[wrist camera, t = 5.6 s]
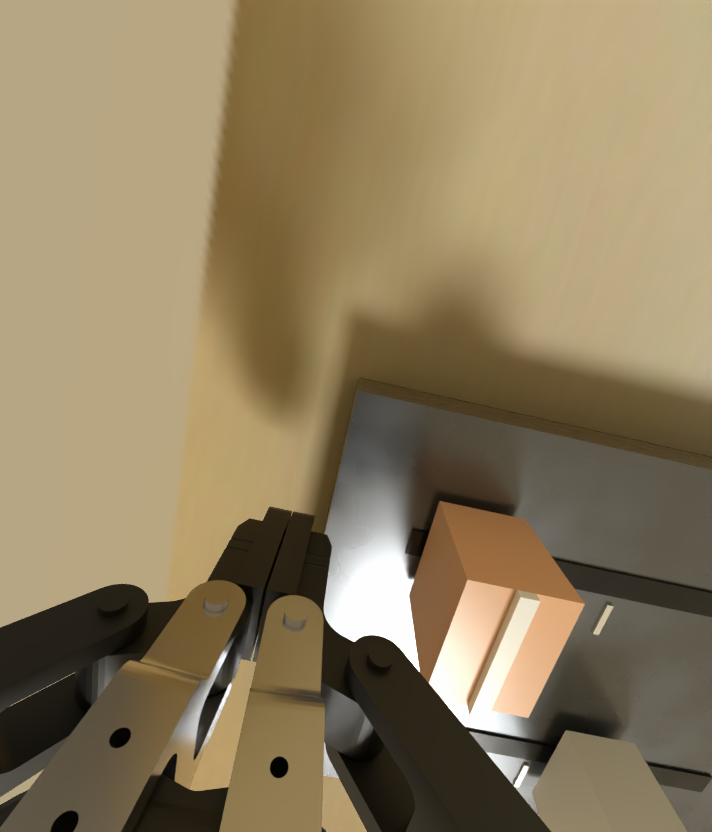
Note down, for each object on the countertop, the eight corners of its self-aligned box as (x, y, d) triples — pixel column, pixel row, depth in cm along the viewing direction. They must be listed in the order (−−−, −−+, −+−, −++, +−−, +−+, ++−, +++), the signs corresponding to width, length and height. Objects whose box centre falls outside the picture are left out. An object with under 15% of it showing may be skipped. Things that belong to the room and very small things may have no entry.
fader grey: (565, 730, 16) (628, 867, 12) (634, 743, 16) (718, 883, 12) (531, 792, 17) (579, 935, 13) (596, 804, 17) (661, 949, 14)
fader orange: (439, 500, 13) (469, 586, 9) (525, 519, 13) (590, 611, 9) (408, 595, 14) (424, 706, 10) (487, 611, 14) (531, 727, 11)
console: (358, 377, 14) (357, 391, 12) (907, 501, 15) (988, 532, 13) (280, 720, 20) (270, 768, 18) (690, 796, 21) (725, 851, 19)
